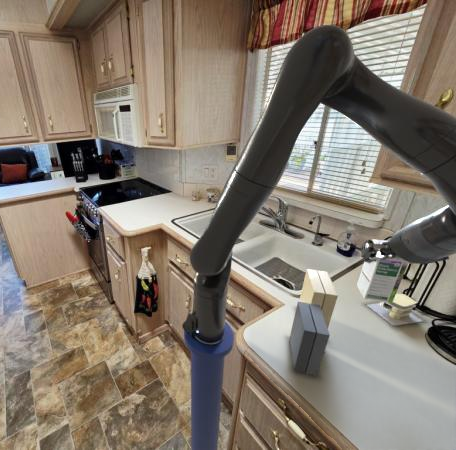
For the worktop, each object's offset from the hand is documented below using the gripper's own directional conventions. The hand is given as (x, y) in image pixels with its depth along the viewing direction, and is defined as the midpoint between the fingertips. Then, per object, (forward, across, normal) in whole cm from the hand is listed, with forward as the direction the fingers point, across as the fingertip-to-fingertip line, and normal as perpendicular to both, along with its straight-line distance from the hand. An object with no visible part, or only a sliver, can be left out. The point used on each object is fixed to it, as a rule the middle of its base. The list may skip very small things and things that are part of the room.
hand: (381, 260), depth 62 cm
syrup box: (+5, 0, +8) cm, 10 cm away
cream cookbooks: (+18, +11, +17) cm, 28 cm away
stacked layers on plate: (+27, -14, +9) cm, 31 cm away
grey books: (+9, +15, +27) cm, 32 cm away
